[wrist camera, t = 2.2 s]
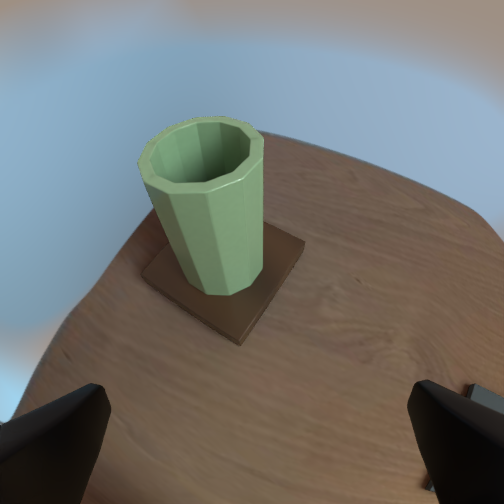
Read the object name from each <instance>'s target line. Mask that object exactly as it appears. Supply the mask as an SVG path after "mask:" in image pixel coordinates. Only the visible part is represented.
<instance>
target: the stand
mask: <svg viewBox="0 0 504 504" xmlns="http://www.w3.org/2000/svg"><path fill="white" fill-rule="evenodd" d="M304 246H305V241H303V240H301V239H299V238H297V237H295V236H293V235H291V234H289V233H287V232H285V231H283V230H281V229H279V228H277V227H274V226H272V225H270V224H268V223H266V222H264V238H263V269H262V270H261V272H260V273H259V274H258V276H257V277H256V279H255V280H254V281H253V283H252V284H251V285H250V286H249V287H247V288H244V289H242V290H240V291H238V292H236V293H234V294H232V295H229V296H228V295H207V294H205V293H204V292H202V291H200V290H199V289H197V288H196V287H194V286H193V285H191V284H190V283H189V282H188V280H187V278H186V276H185V274H184V272H183V270H182V268H181V266H180V264H179V262H178V260H177V257H176V255H175V253H174V251H173V249H172V247H171V245H170V242H168V244H167V245H166V246H165V247H164V248H163V249H162V250H161V251H160V253H159V254H158V255H157V256H156V257H155V258H154V259H153V261H152V262H151V263H150V264H149V265H148V266H147V267H146V269H145V270H144V271H143V272H142V273H141V276H142V277H143V278H144V280H145V281H146V282H147V283H148V284H149V285H151V286H152V287H153V288H155V289H156V290H158V291H159V292H160V293H162V294H163V295H164V296H166V297H167V298H169V299H170V300H171V301H173V302H174V303H176V304H177V305H178V306H180V307H181V308H183V309H184V310H186V311H187V312H189V313H190V314H191V315H193V316H194V317H196V318H197V319H199V320H200V321H202V322H203V323H205V324H206V325H208V326H209V327H211V328H212V329H214V330H215V331H217V332H219V333H220V334H222V335H223V336H225V337H226V338H228V339H230V340H231V341H233V342H234V343H236V344H237V345H239V346H241V345H242V343H243V342H244V340H245V339H246V338H247V336H248V335H249V333H250V332H251V330H252V329H253V327H254V326H255V324H256V323H257V321H258V320H259V318H260V317H261V315H262V314H263V312H264V311H265V309H266V308H267V306H268V305H269V303H270V302H271V300H272V299H273V297H274V296H275V294H276V293H277V291H278V290H279V288H280V287H281V285H282V284H283V282H284V281H285V279H286V277H287V276H288V274H289V273H290V271H291V270H292V268H293V267H294V265H295V263H296V262H297V260H298V259H299V257H300V256H301V254H302V252H303V250H304Z"/></svg>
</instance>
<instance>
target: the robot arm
mask: <svg viewBox="0 0 504 504" xmlns="http://www.w3.org/2000/svg"><path fill="white" fill-rule="evenodd" d="M407 409H408V413H409V416H410V419H411V423H412V426H413V430H414V433H415V437H416V441H417V444H418V447H419V450H420V453H421V455H422V458H423V461H424V463H425V466H426V468H427V471H428V474H429V476H430V479H431V482H432V484H433V487H434V490H435V493H436V496H437V498H438V501H439V504H504V414H502V413H500V412H498V411H495V410H493V409H491V408H489V407H486V406H484V405H482V404H480V403H477V402H475V401H473V400H471V399H469V398H466V397H464V396H462V395H460V394H458V393H456V392H453V391H451V390H449V389H447V388H445V387H443V386H441V385H438V384H436V383H434V382H432V381H430V380H422V381H418V382H416V383H415V384H414V386H413V389H412V392H411V395H410V397H409V400H408V404H407ZM110 414H111V405H110V402H109V400H108V397H107V394H106V392H105V389H104V387H103V386H101V385H98V384H93V383H90V384H87V385H85V386H83V387H81V388H79V389H77V390H75V391H73V392H71V393H69V394H67V395H65V396H63V397H61V398H59V399H57V400H55V401H52V402H50V403H48V404H46V405H44V406H42V407H40V408H37V409H35V410H33V411H31V412H29V413H27V414H24V415H22V416H20V417H18V418H15V419H13V420H11V421H9V422H6V423H4V424H2V426H1V425H0V504H80V502H81V500H82V497H83V494H84V491H85V489H86V486H87V483H88V481H89V478H90V475H91V473H92V470H93V468H94V465H95V463H96V460H97V458H98V455H99V452H100V449H101V446H102V442H103V438H104V435H105V431H106V428H107V424H108V421H109V417H110Z"/></svg>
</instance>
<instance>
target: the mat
mask: <svg viewBox="0 0 504 504" xmlns="http://www.w3.org/2000/svg"><path fill="white" fill-rule="evenodd" d="M466 398H469V399H471V400H473V401H475V402H477V403H480V404H482V405H484V406H486V407H489V408H491V409H493V410H495V411H498V412H500V413H502V414H504V398H503V397H501V396H499V395H497V394H495V393H493V392H491V391H489V390H487V389H485V388H483V387H481V386H479V385H477V384H472V385H470V387H469V390H468V393H467V396H466ZM426 490H429V491H433V492H435V490H434V487H433V484H432V482H431V480H430V482H429V483H428V485H427V487H426Z"/></svg>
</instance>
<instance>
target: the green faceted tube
mask: <svg viewBox="0 0 504 504" xmlns="http://www.w3.org/2000/svg"><path fill="white" fill-rule="evenodd" d="M137 164H138V167H139V170H140V173H141V176H142V179H143V182H144V185H145V187H146V190H147V192H148V194H149V197H150V199H151V201H152V204H153V206H154V209H155V211H156V213H157V215H158V218H159V220H160V222H161V225H162V227H163V229H164V231H165V234H166V236H167V238H168V240H169V242H170V245H171V247H172V249H173V251H174V253H175V255H176V257H177V260H178V262H179V264H180V266H181V268H182V270H183V272H184V274H185V276H186V278H187V280H188V282H189V283H190V284H191V285H193V286H194V287H196V288H197V289H199V290H200V291H202V292H204V293H205V294H207V295H228V296H229V295H232V294H234V293H236V292H238V291H240V290H242V289H244V288H247V287H249V286H250V285H251V284H252V283H253V281H254V280H255V279H256V277H257V276H258V274H259V273H260V272H261V270H262V269H263V238H264V138H263V137H262V136H261V135H260V134H259V133H258V132H257V131H256V130H255V129H254V128H253V127H252V126H251V125H250V124H249V123H247V122H243V121H240V120H236V119H232V118H229V117H225V116H215V117H197V118H192V119H189V120H187V121H184V122H181V123H178V124H175V125H172V126H169V127H167V128H166V129H165V130H163V131H162V132H161V133H159V134H158V135H157V136H155V137H154V138H153V139H151V140H150V141H149V142H148V143H147V144H146V146H145V148H144V150H143V152H142V154H141V156H140V158H139V160H138V162H137Z"/></svg>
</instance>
